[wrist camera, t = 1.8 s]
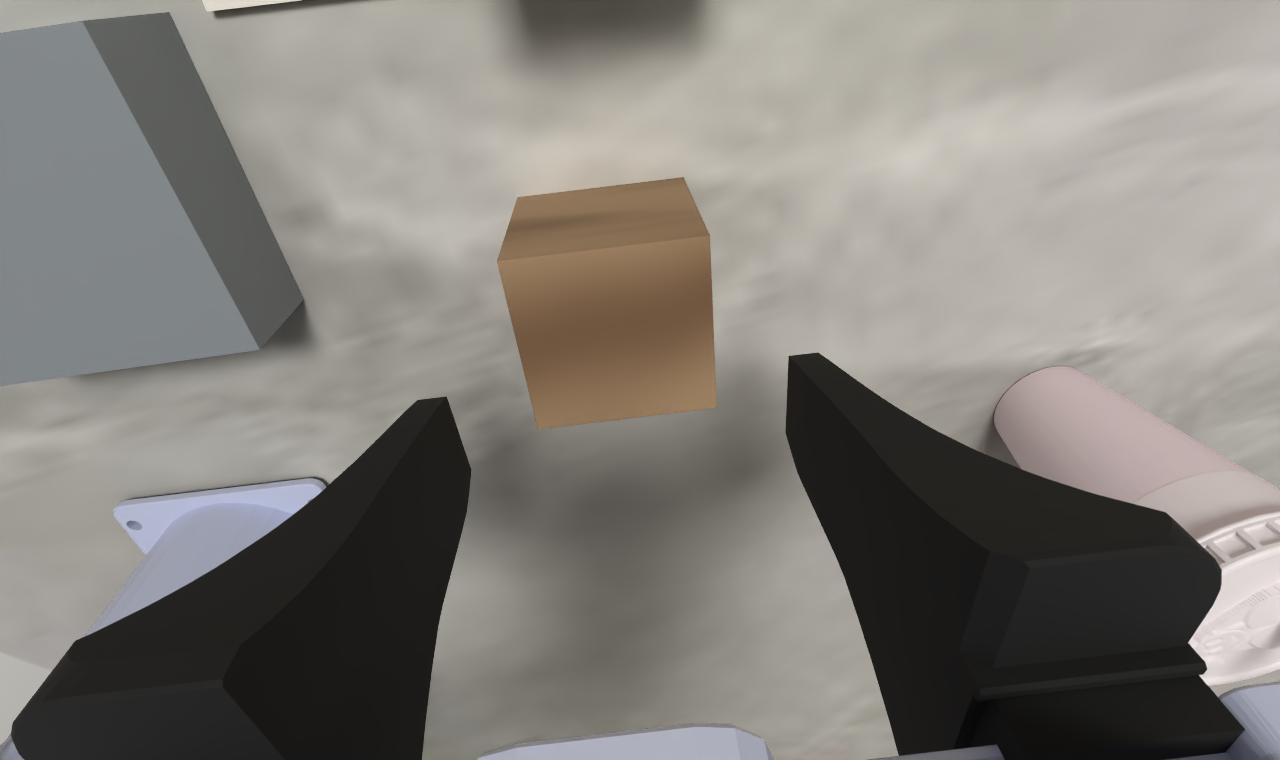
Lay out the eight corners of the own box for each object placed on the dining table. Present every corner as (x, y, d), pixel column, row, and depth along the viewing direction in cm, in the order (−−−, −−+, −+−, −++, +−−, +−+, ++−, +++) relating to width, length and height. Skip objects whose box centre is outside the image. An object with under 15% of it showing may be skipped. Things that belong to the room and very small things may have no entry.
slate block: (307, 295, 20) (259, 349, 17) (67, 328, 20) (-21, 388, 17) (176, 11, 16) (81, 21, 13) (-131, 56, 16) (-294, 76, 13)
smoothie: (1140, 417, 25) (1619, 808, 13) (986, 490, 27) (1292, 892, 15) (1108, 302, 22) (1694, 680, 10) (936, 393, 24) (1270, 804, 12)
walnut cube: (692, 322, 21) (716, 407, 17) (548, 340, 21) (537, 428, 17) (683, 176, 19) (709, 235, 14) (518, 196, 19) (496, 261, 14)
